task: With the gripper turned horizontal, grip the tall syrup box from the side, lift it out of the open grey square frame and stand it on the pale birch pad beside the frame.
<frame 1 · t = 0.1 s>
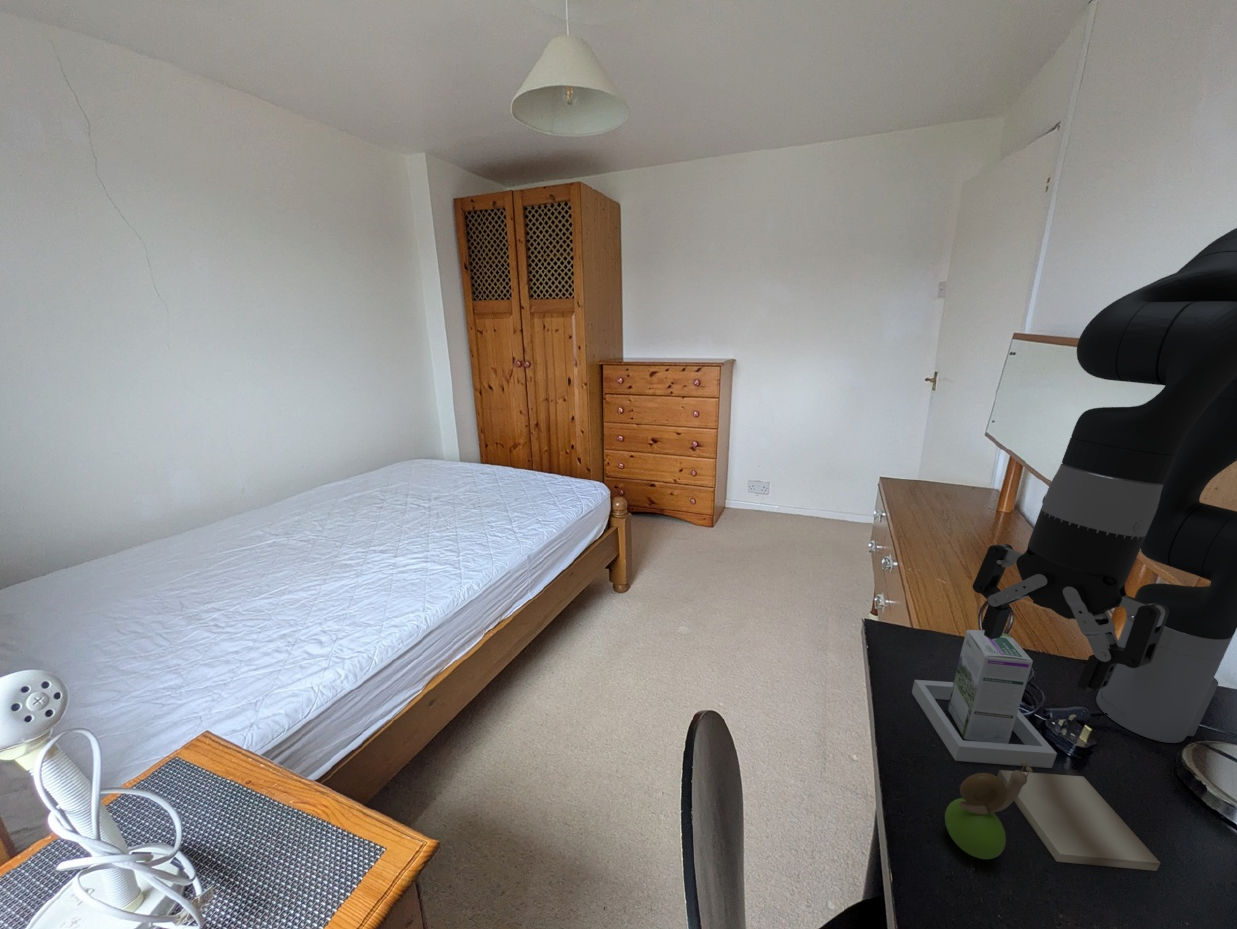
hand: (1035, 660, 51), 22 cm above the table, tool pointing down, fingers open, 8 cm apart
syrup box: (975, 728, 69), resting in grey square frame
snail figurine: (973, 846, 54), on the table
grey square frame: (975, 726, 69), on the table
birch pad: (1069, 819, 57), on the table
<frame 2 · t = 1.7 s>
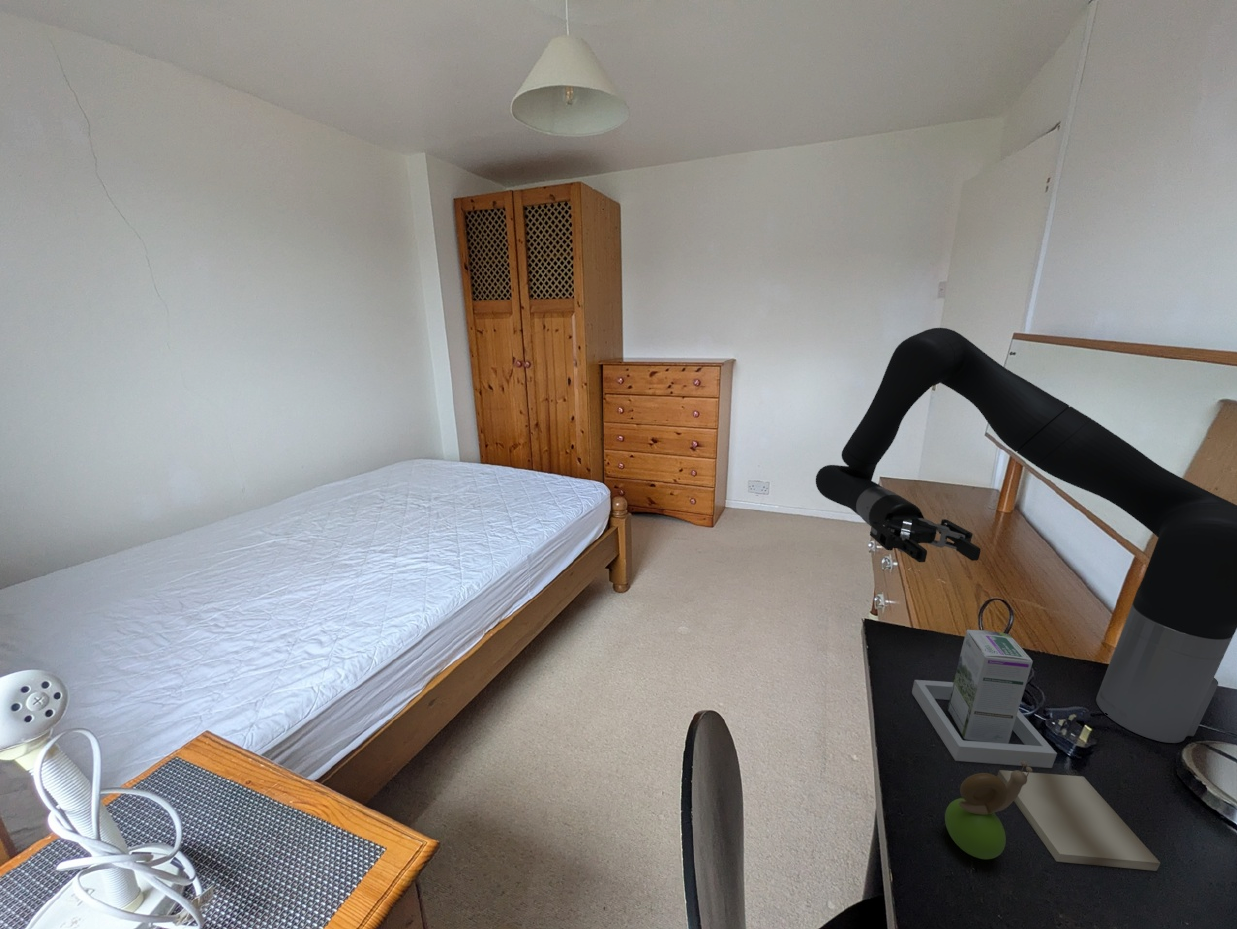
hand: (951, 556, 73), 22 cm above the table, tool horizontal, fingers open, 8 cm apart
nothing on the table moved.
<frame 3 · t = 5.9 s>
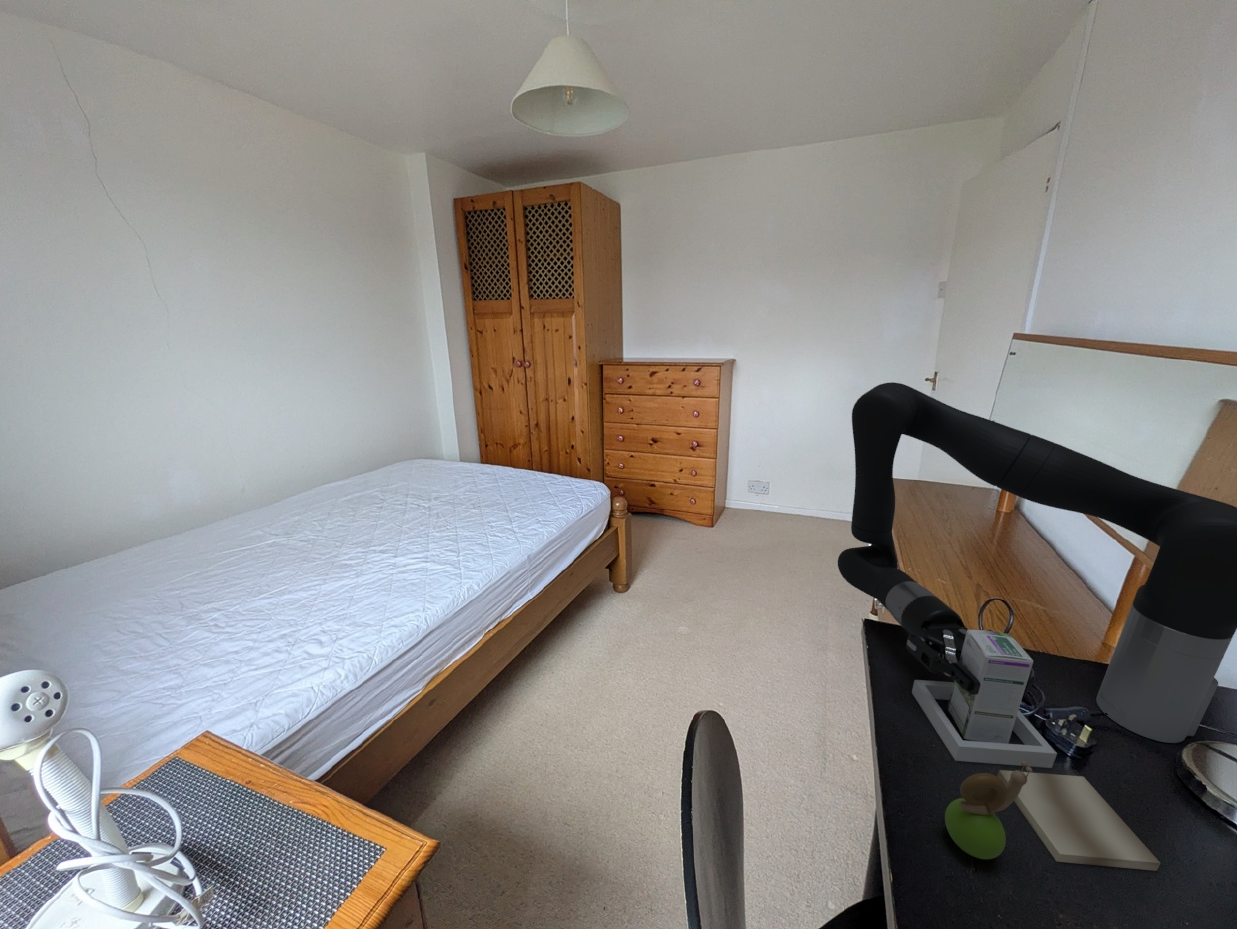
hand: (1003, 688, 64), 9 cm above the table, tool horizontal, fingers closed on syrup box, 7 cm apart
syrup box: (975, 728, 69), resting in grey square frame, touching gripper
everything else where it was.
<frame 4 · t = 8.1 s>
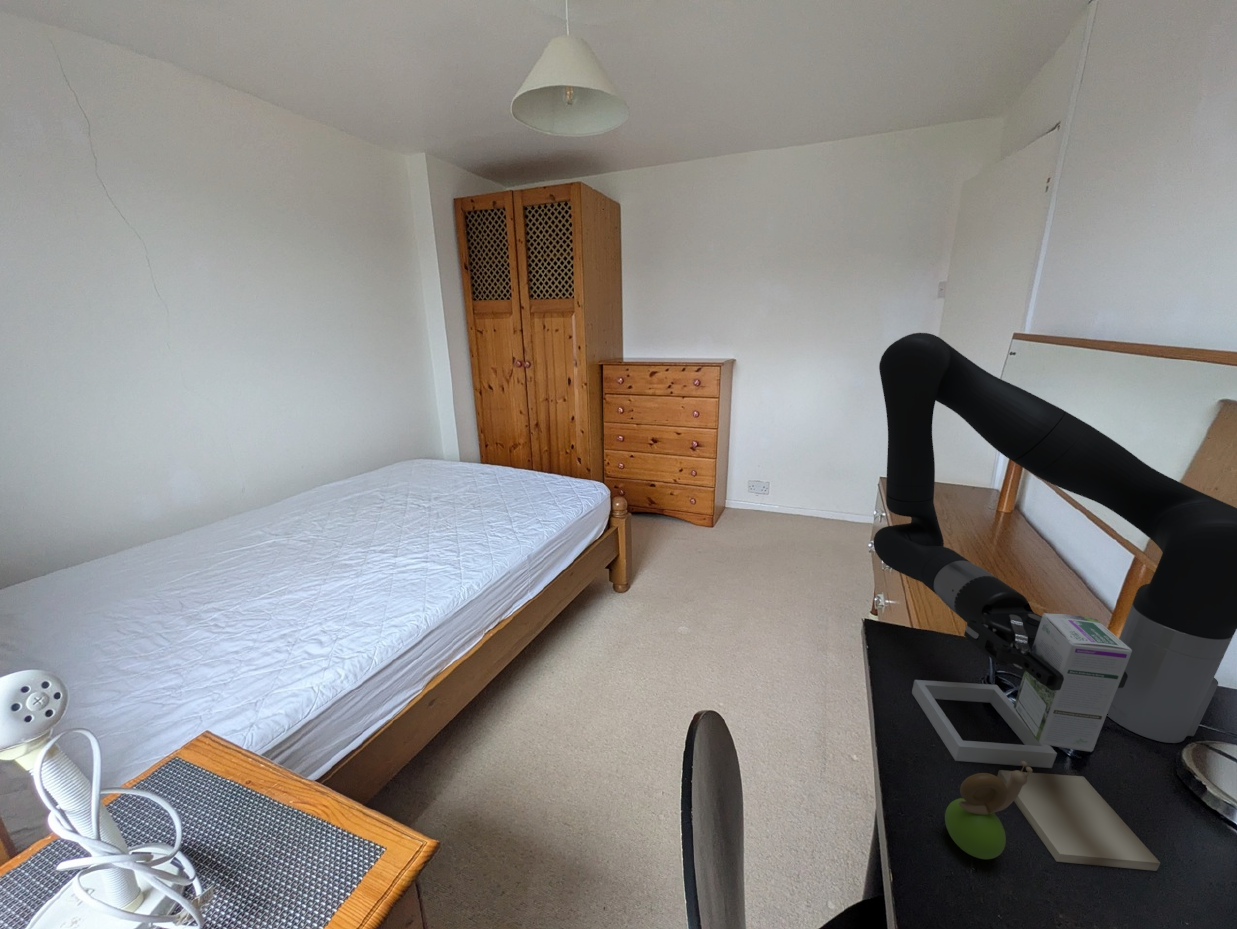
hand: (1090, 683, 54), 18 cm above the table, tool horizontal, fingers closed on syrup box, 7 cm apart
syrup box: (1049, 730, 59), point 9 cm above the table, touching gripper
everything else where it was.
when the fingers open (11 cm above the table, at t = 10.5 s): syrup box stays where it is, resting on birch pad.
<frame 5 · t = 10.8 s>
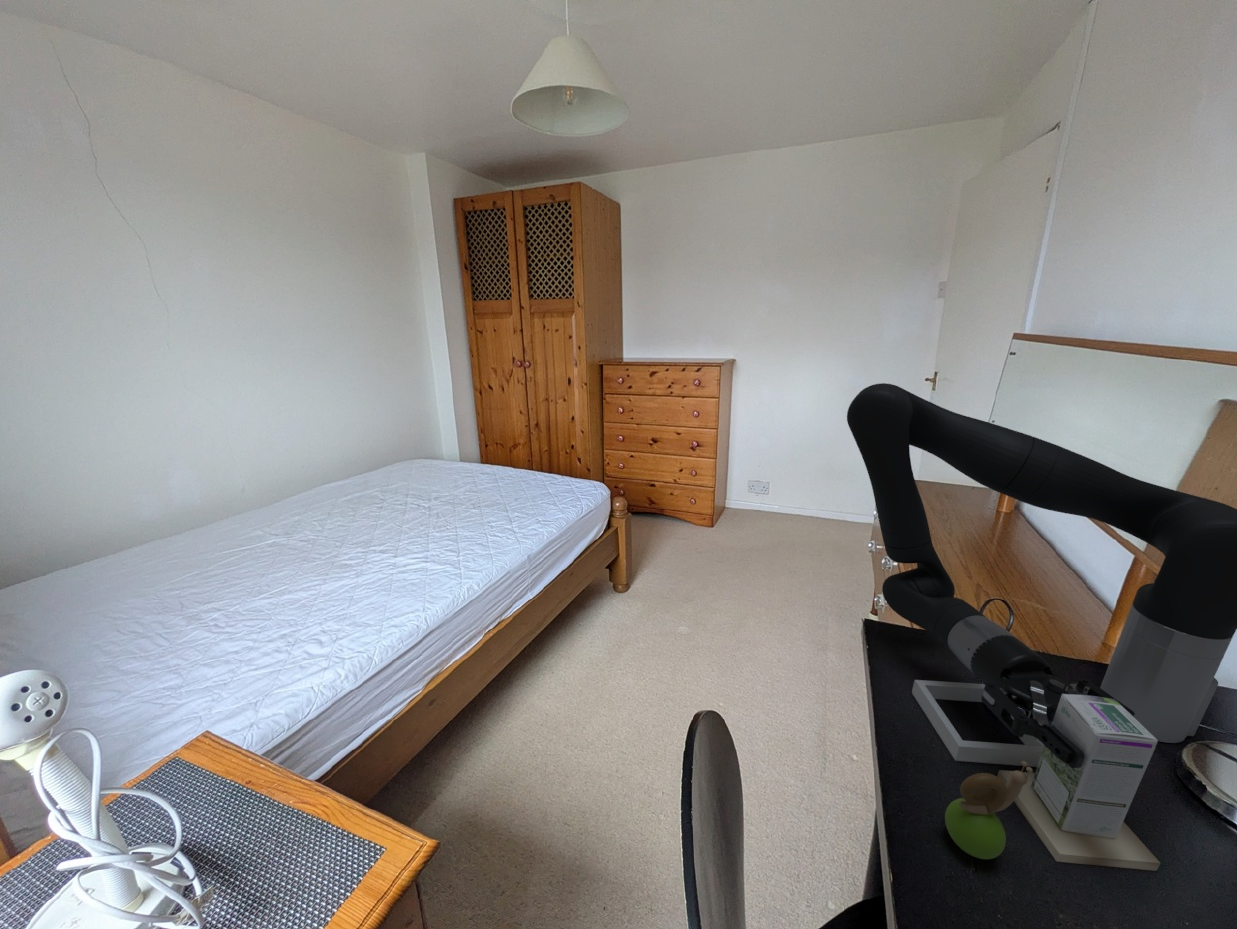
hand: (1117, 760, 51), 11 cm above the table, tool horizontal, fingers open, 8 cm apart
syrup box: (1069, 812, 57), point 1 cm above the table, touching birch pad
everything else where it was.
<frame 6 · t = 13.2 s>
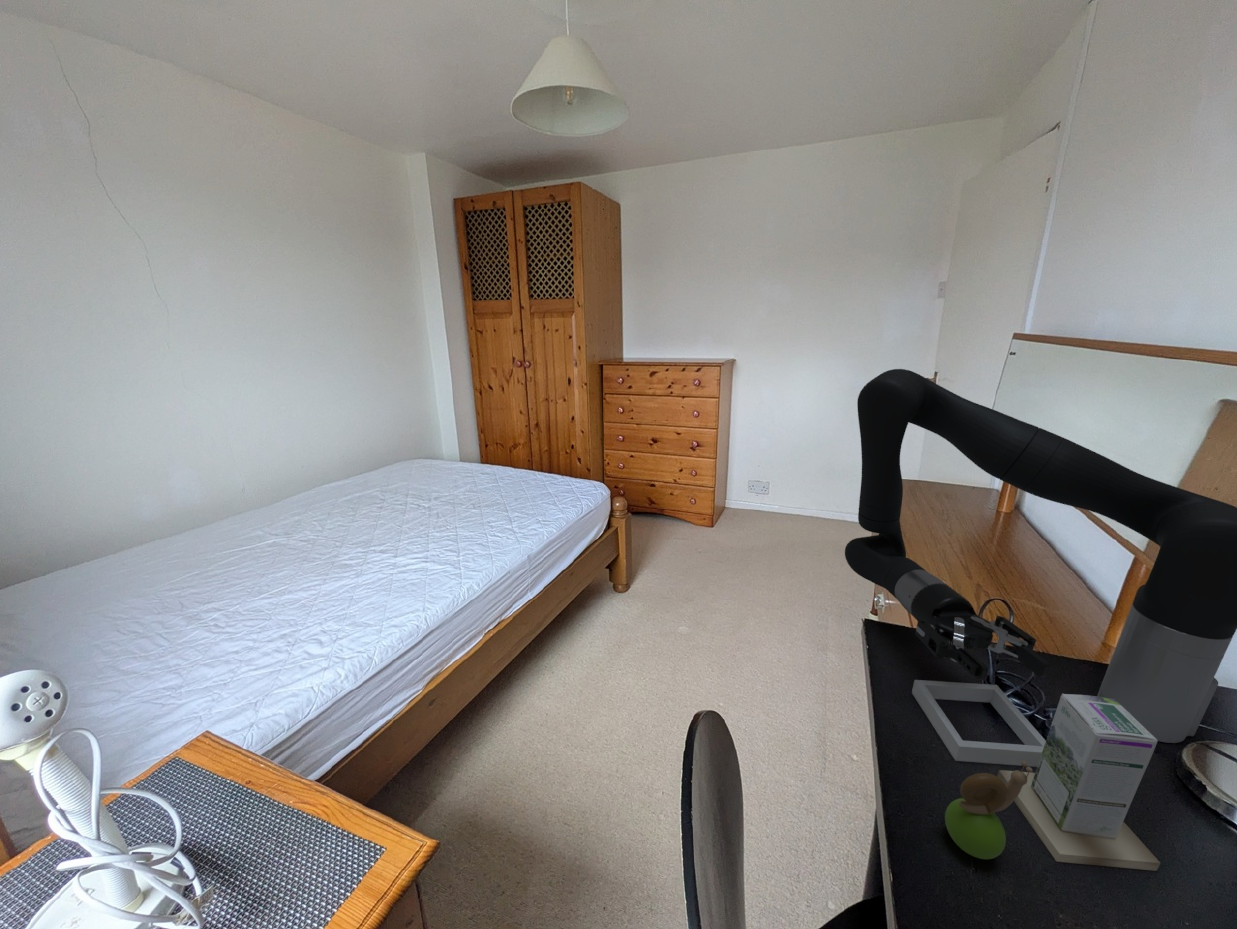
hand: (1015, 673, 64), 12 cm above the table, tool horizontal, fingers open, 8 cm apart
nothing on the table moved.
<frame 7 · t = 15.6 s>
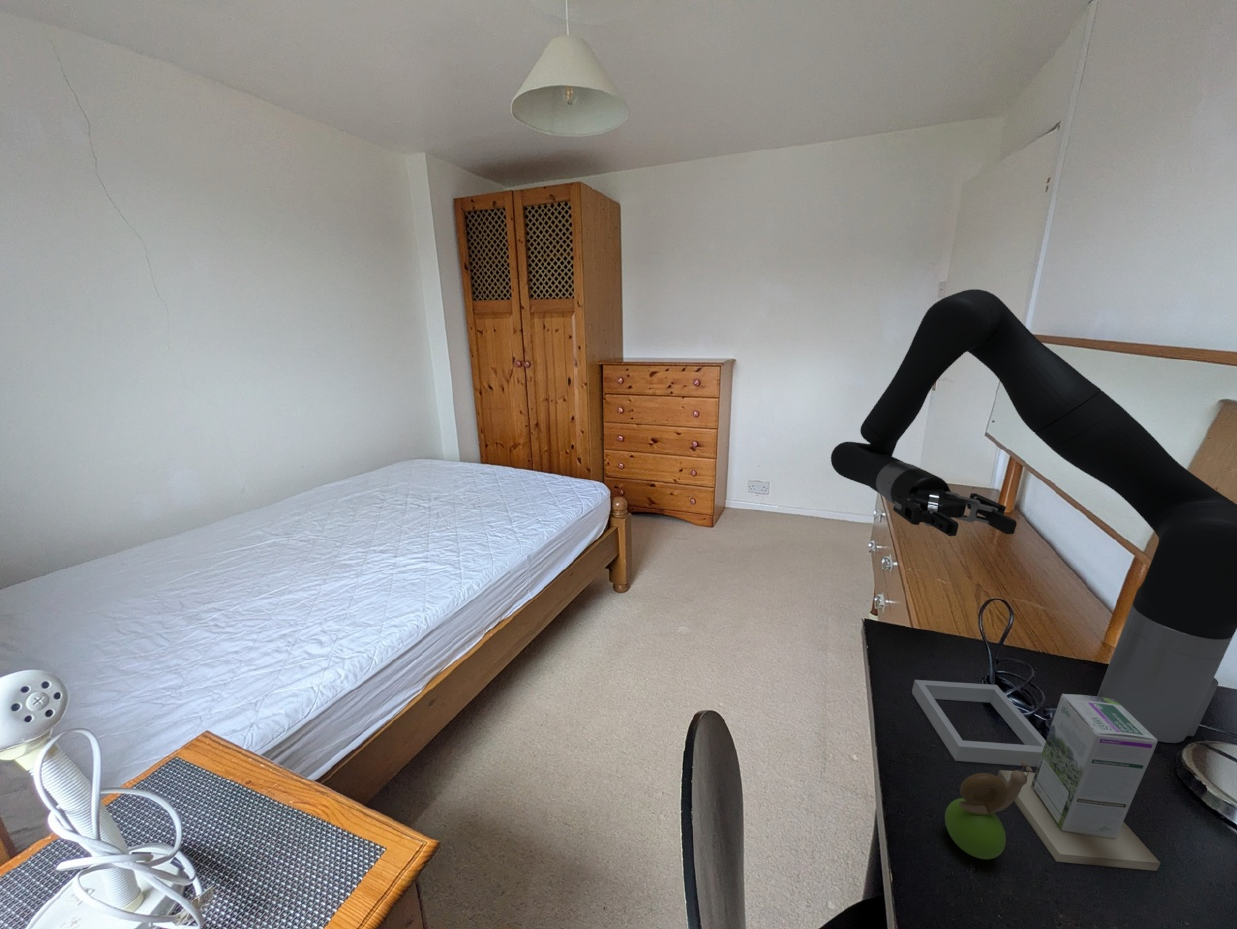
hand: (984, 529, 67), 28 cm above the table, tool horizontal, fingers open, 8 cm apart
nothing on the table moved.
at the end: syrup box inside the target area on the birch pad (0.2 cm from its centre), point 1.0 cm above the birch pad's base; syrup box tilted 0°; the gripper is holding nothing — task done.
